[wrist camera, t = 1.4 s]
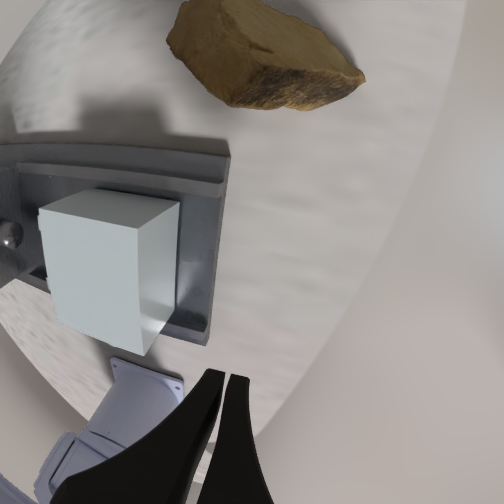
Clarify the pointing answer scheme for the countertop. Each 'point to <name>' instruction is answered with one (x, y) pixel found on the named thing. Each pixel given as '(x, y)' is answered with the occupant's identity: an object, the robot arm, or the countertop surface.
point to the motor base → (126, 181)
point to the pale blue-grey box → (111, 264)
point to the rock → (260, 56)
